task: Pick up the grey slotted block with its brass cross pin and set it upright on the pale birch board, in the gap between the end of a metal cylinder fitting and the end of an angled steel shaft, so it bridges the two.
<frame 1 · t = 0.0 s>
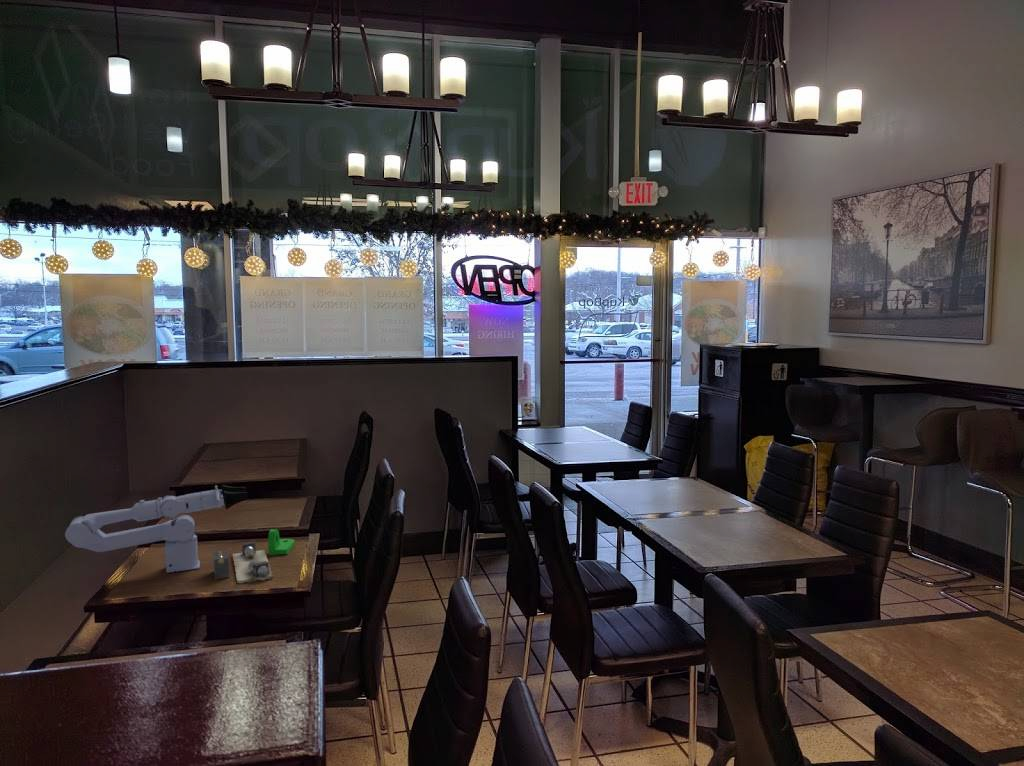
hand: (247, 492, 239), 22 cm above the table, tool horizontal, fingers open, 7 cm apart
mechanical part: (283, 550, 251), on the table
grey slotted block: (221, 574, 227), on the table
angled shaft: (259, 576, 224), resting on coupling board
metal cylinder fitting: (249, 557, 242), resting on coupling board
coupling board: (251, 567, 233), on the table
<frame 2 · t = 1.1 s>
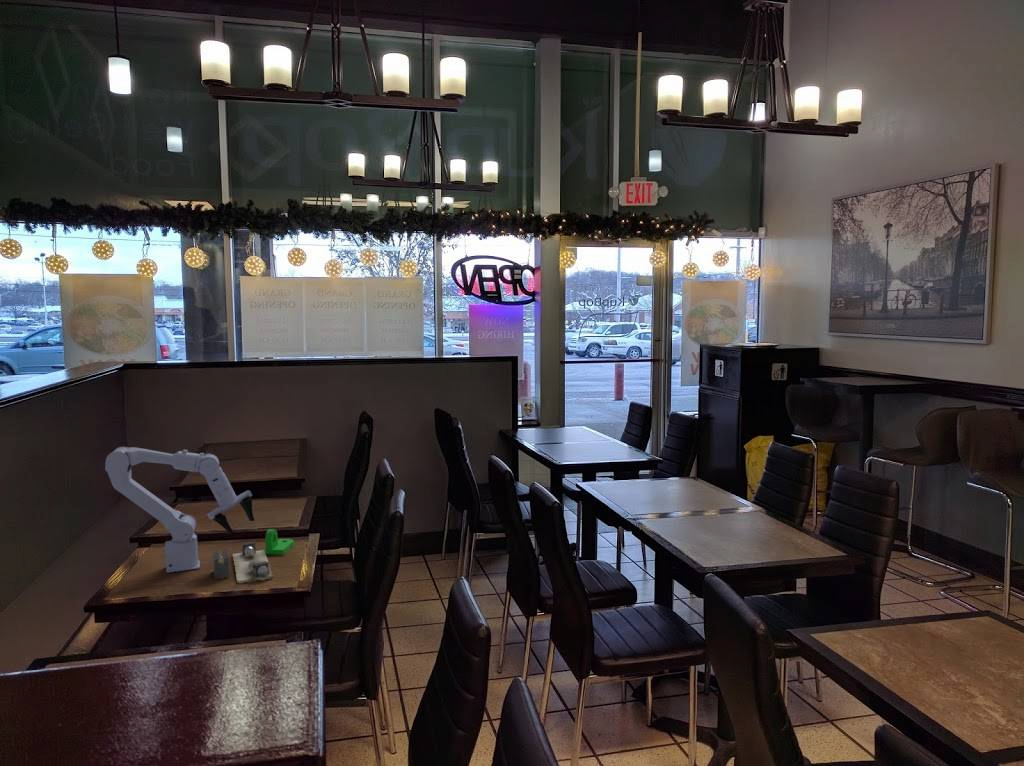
hand: (241, 527, 238), 11 cm above the table, tool tilted 25°, fingers open, 7 cm apart
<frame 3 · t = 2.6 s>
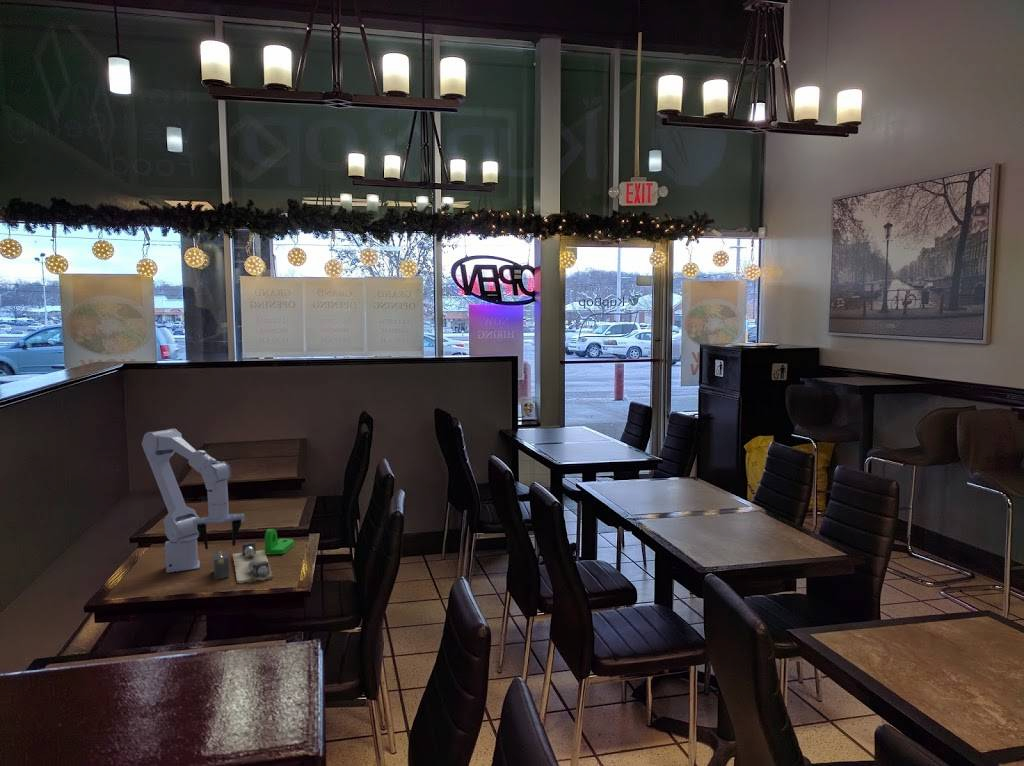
hand: (220, 546, 226), 9 cm above the table, tool pointing down, fingers open, 7 cm apart
nothing on the table moved.
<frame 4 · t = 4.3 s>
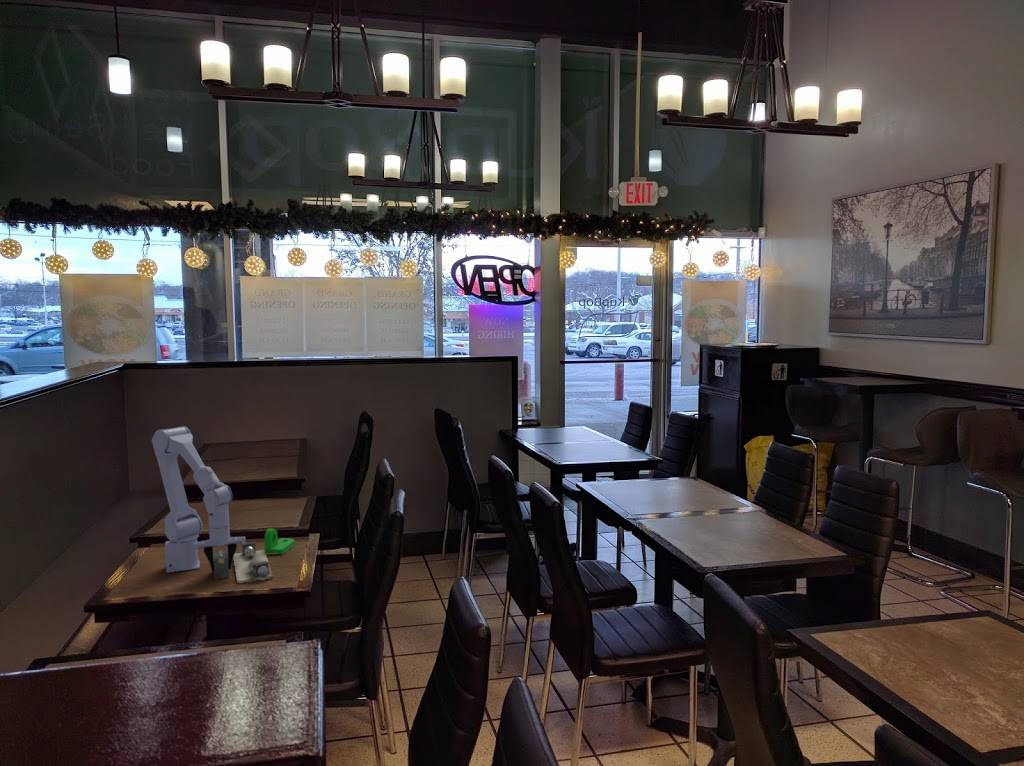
hand: (221, 569, 226), 1 cm above the table, tool pointing down, fingers closed on grey slotted block, 4 cm apart
grey slotted block: (221, 574, 227), on the table, touching gripper
everything else where it was.
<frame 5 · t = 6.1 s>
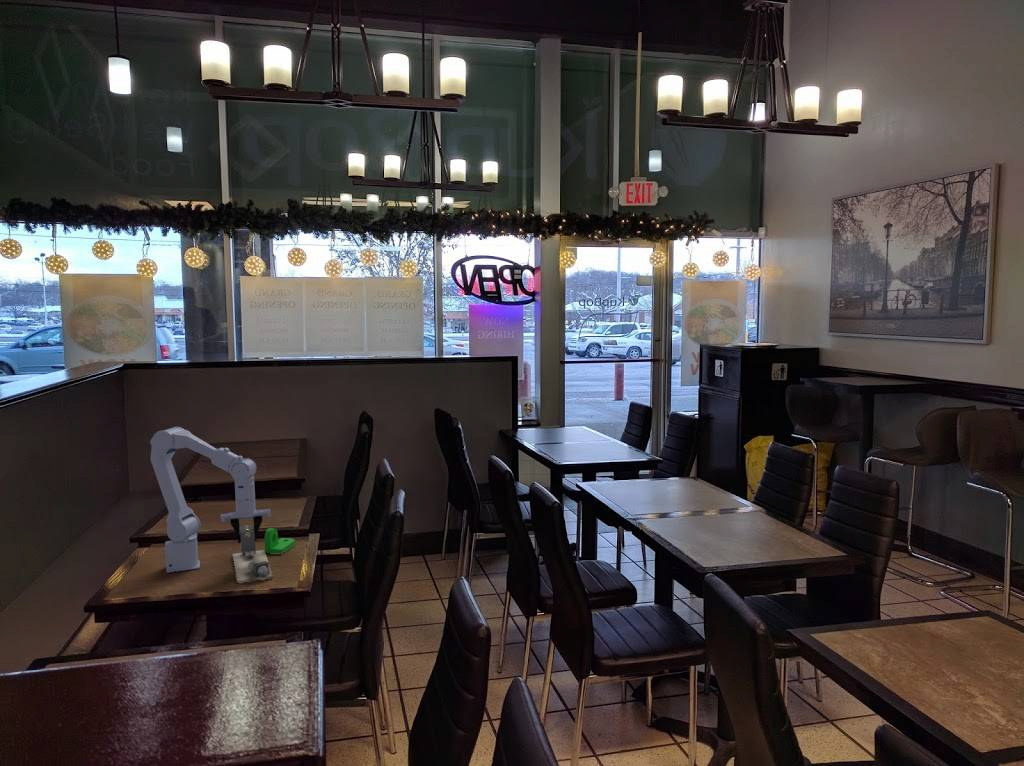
hand: (247, 541, 231), 8 cm above the table, tool pointing down, fingers closed on grey slotted block, 4 cm apart
grey slotted block: (247, 547, 231), point 6 cm above the table, touching gripper
when the fingers open (3 cm above the table, at t = 8.0 s): grey slotted block stays where it is, resting on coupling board.
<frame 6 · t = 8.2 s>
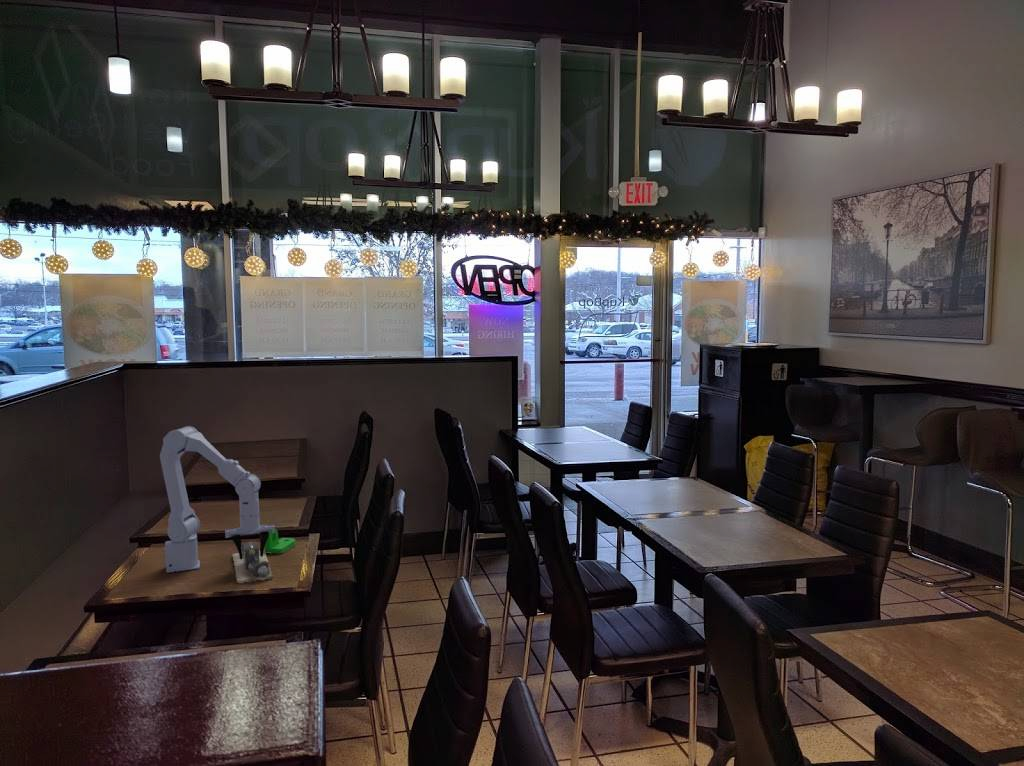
hand: (251, 557, 233), 3 cm above the table, tool pointing down, fingers open, 5 cm apart
grey slotted block: (251, 564, 233), point 1 cm above the table, touching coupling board
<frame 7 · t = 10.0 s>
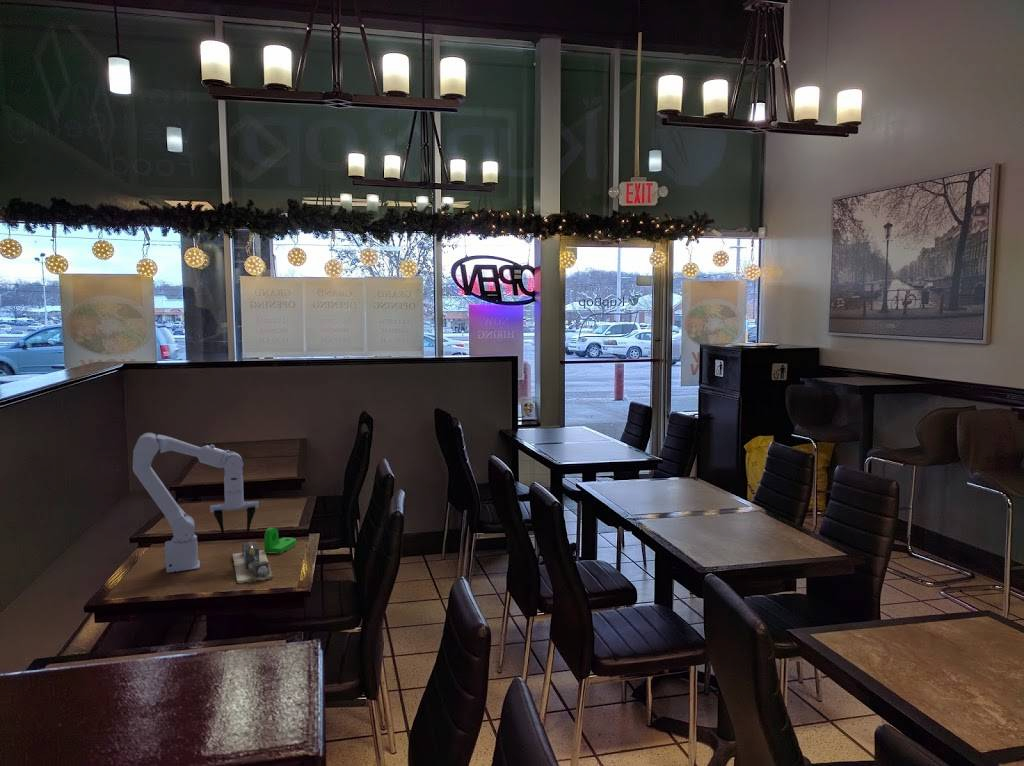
hand: (235, 532, 239), 9 cm above the table, tool pointing down, fingers open, 7 cm apart
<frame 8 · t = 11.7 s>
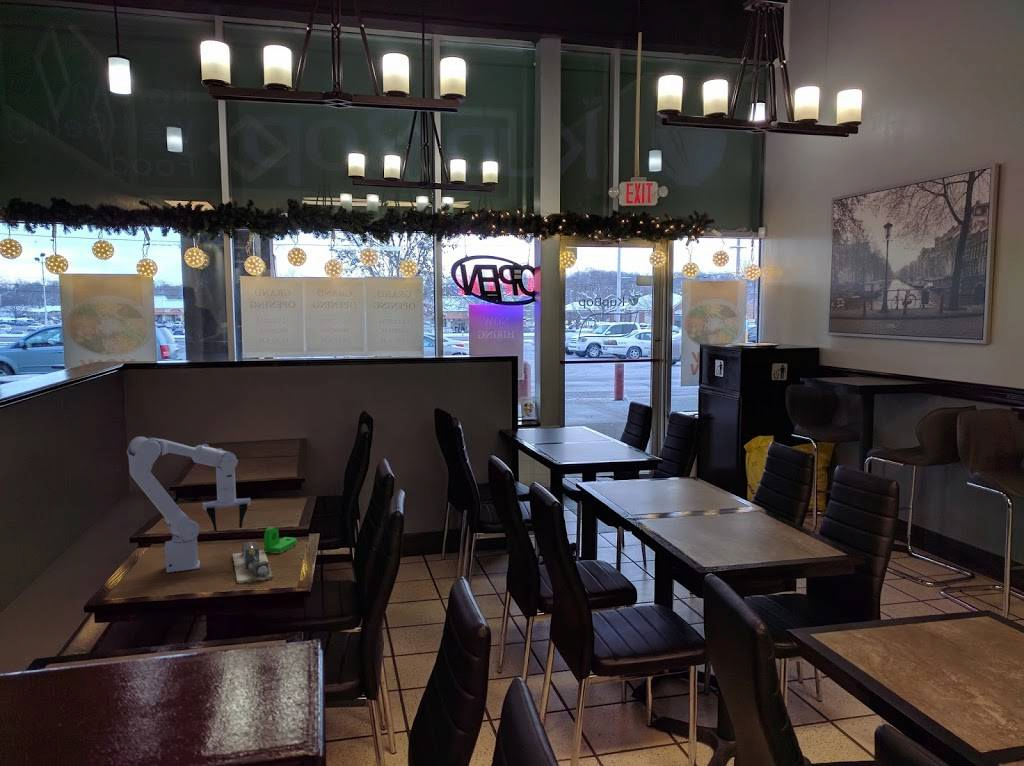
hand: (228, 528, 242), 9 cm above the table, tool pointing down, fingers open, 7 cm apart
at the end: grey slotted block 0.1 cm from the target spot, point 0.8 cm above the table; grey slotted block tilted 0°; the gripper is holding nothing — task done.
